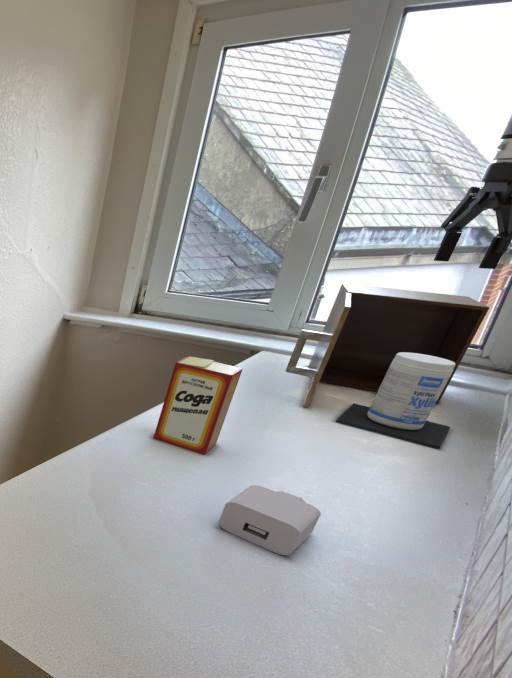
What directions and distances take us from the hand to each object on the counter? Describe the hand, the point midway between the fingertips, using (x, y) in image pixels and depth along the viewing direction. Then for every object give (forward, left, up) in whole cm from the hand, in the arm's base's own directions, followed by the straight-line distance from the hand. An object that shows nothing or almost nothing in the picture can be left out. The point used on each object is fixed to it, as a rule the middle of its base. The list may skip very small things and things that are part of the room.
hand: (462, 264), depth 128 cm
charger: (-78, +65, -32) cm, 106 cm away
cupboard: (+6, +4, -32) cm, 33 cm away
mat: (-27, +18, -32) cm, 45 cm away
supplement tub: (-27, +18, -31) cm, 45 cm away
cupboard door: (-7, +28, -32) cm, 43 cm away
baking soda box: (-49, +68, -32) cm, 90 cm away
